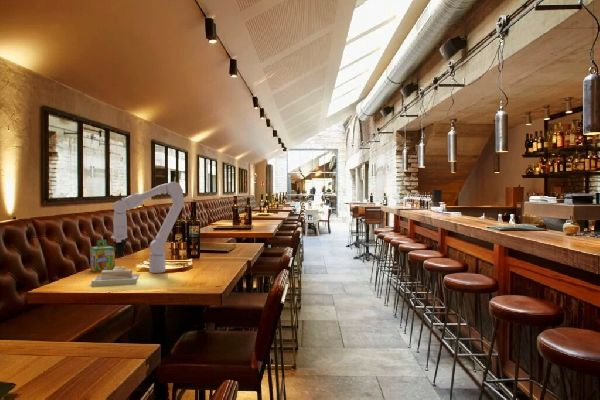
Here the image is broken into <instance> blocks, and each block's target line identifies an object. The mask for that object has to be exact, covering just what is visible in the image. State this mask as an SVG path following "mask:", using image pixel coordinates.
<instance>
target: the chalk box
mask: <svg viewBox="0 0 600 400" xmlns="http://www.w3.org/2000/svg"><path fill="white" fill-rule="evenodd" d="M101 243H103V244H102V245H101ZM89 257H90V258H89V259H90V261H89V262H90V271H91V272H102V271H103V270H113V269H114V267H116V247H115V246H110V245H108V242H107V239H100V240H99V239H98V240H96V246H91V247H90V248H89Z"/></svg>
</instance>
